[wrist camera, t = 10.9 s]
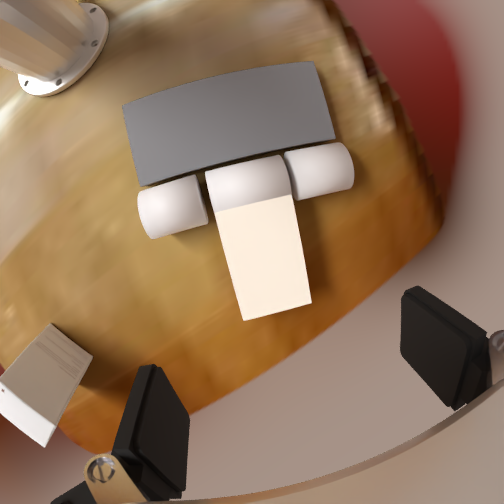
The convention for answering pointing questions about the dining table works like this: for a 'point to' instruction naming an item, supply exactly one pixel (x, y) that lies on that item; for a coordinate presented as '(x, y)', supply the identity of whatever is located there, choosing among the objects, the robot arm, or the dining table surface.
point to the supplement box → (42, 383)
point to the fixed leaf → (231, 138)
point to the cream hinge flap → (260, 235)
